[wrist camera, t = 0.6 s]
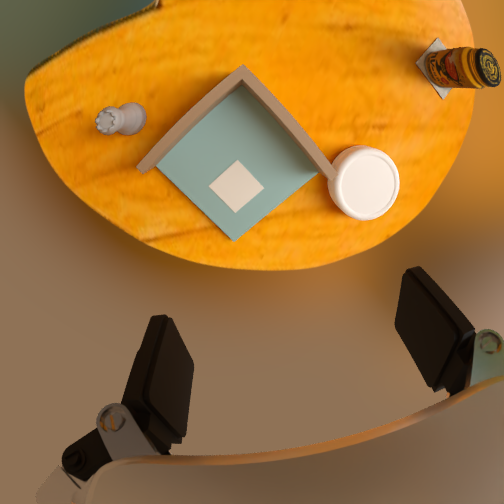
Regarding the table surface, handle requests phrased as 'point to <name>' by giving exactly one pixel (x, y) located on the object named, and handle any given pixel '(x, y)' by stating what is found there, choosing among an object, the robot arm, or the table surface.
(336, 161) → the white round container
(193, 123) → the corner arena
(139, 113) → the rook chess piece
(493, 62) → the condiment
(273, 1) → the table surface
